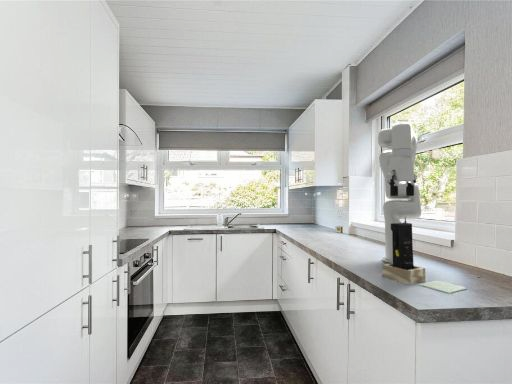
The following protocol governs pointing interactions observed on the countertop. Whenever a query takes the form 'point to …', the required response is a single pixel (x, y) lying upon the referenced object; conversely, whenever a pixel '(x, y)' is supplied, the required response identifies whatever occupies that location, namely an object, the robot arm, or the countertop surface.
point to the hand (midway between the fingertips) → (402, 195)
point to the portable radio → (402, 245)
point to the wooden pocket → (403, 274)
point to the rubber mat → (443, 286)
